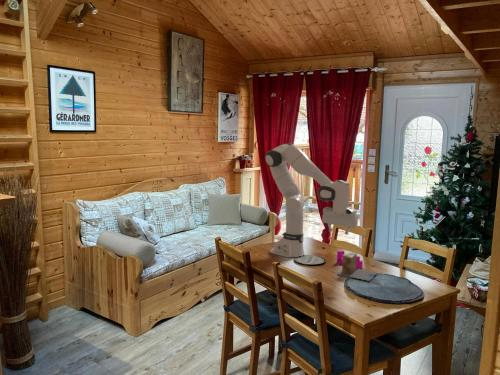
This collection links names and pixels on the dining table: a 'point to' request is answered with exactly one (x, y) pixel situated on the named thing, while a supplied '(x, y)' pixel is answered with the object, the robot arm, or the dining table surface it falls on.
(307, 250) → the dining table surface
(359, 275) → the mat
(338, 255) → the toy block
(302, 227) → the robot arm
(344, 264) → the walnut block
